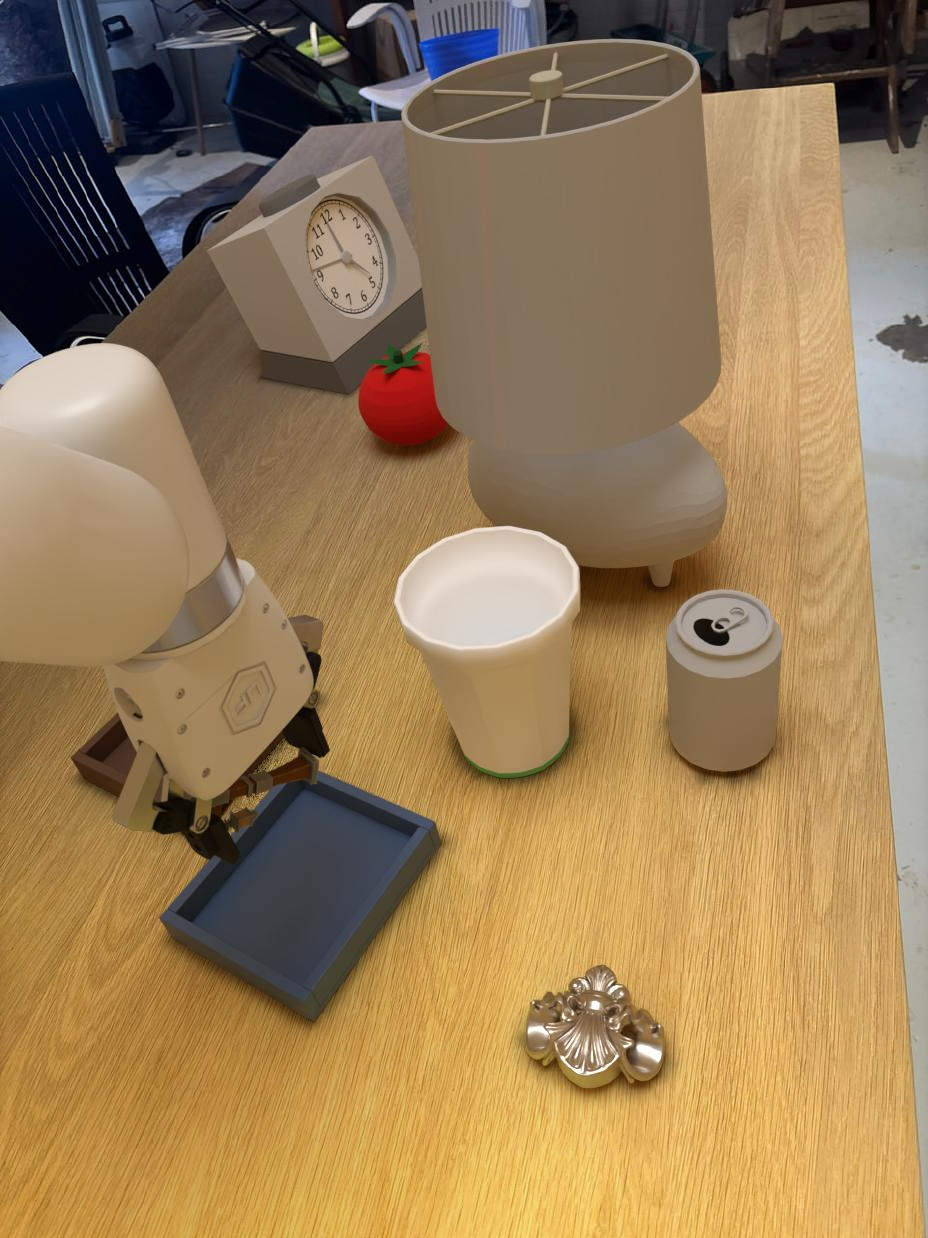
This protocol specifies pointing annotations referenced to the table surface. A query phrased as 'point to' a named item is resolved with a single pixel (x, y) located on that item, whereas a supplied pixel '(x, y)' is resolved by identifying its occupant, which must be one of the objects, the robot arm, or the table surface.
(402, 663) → the table surface
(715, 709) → the can
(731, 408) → the table surface
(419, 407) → the tomato
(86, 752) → the walnut tray
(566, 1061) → the ornament
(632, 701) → the table surface
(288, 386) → the table surface
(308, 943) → the blue tray
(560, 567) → the cup
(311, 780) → the wooden post with brackets
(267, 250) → the alarm clock
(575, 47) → the table lamp
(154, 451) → the robot arm
